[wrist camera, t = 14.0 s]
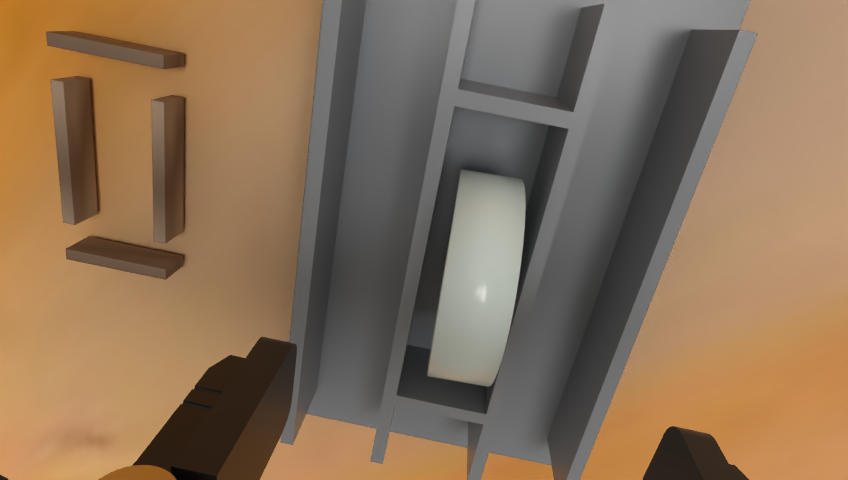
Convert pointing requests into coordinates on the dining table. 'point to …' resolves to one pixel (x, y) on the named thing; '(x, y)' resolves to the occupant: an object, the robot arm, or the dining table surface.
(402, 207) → the rack
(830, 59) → the dining table surface
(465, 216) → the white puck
